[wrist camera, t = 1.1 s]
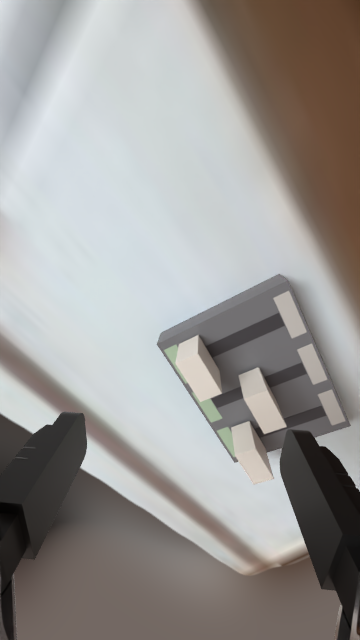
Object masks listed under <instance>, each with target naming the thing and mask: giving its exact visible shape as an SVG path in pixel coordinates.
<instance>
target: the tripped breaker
mask: <svg viewBox="0 0 360 640" xmlns="http://www.w3.org/2000/svg"><path fill="white" fill-rule="evenodd" d="M238 376H239V380H240V385H241V389H242V393H243V398H244V400H245V402H246V404H247V405H248V407H249V409H250V411H251V412H252V414H253V416H254V417H255V419H256V421H257V423H258V424H259V426H260V428H261V430H262V431H263V433H264V434H267V433H270V432H273V431H275V430H278V429H281V428H284V427H287V426H286V423H285V421H284V419H283V416H282V414H281V411H280V409H279V406H278V404H277V401H276V399H275V397H274V395H273V393H272V392H271V390H270V388H269V386H268V384H267V382H266V380H265V378H264V376H263V375H262V373H261V371H260V369H259V367H258V368H255V369H253V370H250V371H248V372H245V373H243V374H241V375H238Z"/></svg>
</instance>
